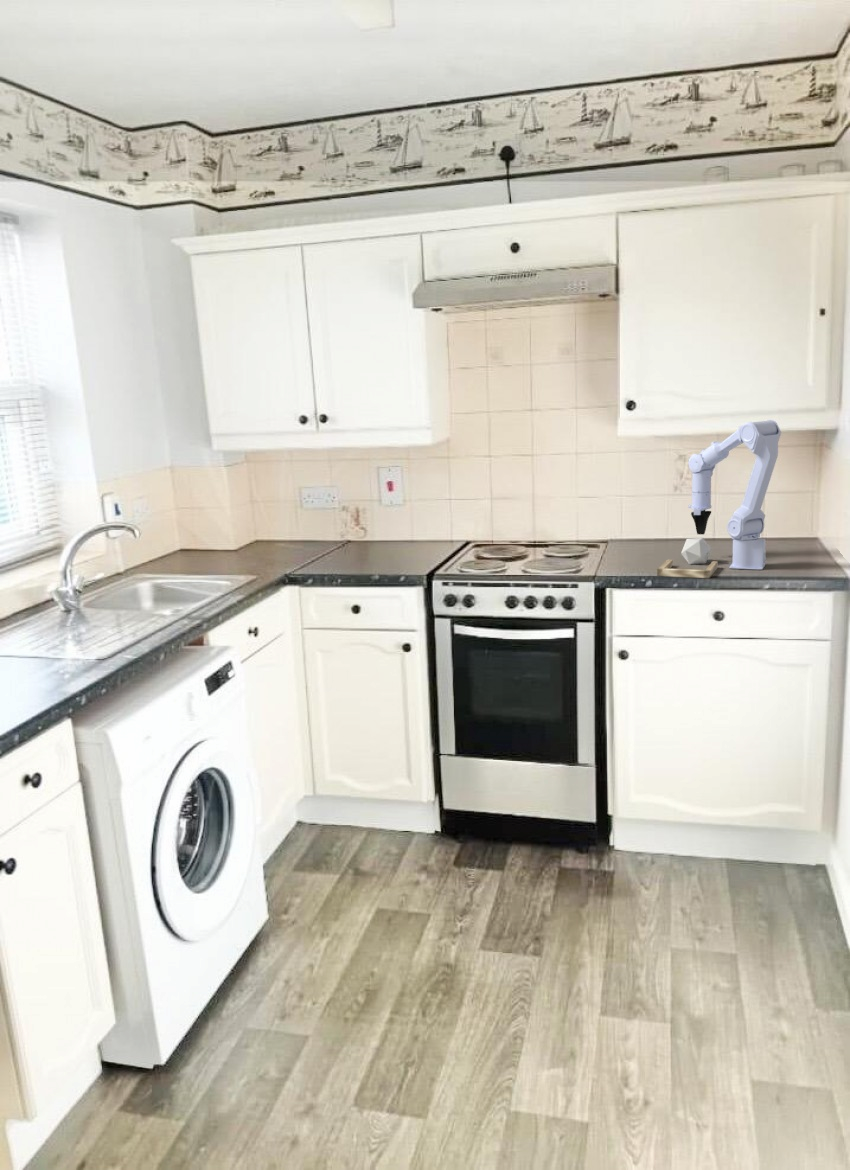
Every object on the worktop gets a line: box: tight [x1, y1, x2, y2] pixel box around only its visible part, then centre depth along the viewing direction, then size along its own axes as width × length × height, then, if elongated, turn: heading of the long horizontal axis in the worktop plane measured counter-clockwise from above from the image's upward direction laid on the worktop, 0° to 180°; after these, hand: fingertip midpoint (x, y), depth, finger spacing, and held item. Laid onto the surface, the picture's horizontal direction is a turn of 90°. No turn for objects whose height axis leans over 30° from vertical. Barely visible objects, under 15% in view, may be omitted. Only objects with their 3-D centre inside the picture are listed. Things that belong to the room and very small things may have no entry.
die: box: [680, 537, 712, 565], centre depth 283 cm, size 8×9×10 cm
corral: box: [656, 559, 719, 579], centre depth 272 cm, size 15×14×2 cm
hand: (700, 534), depth 289 cm, fingers closed
